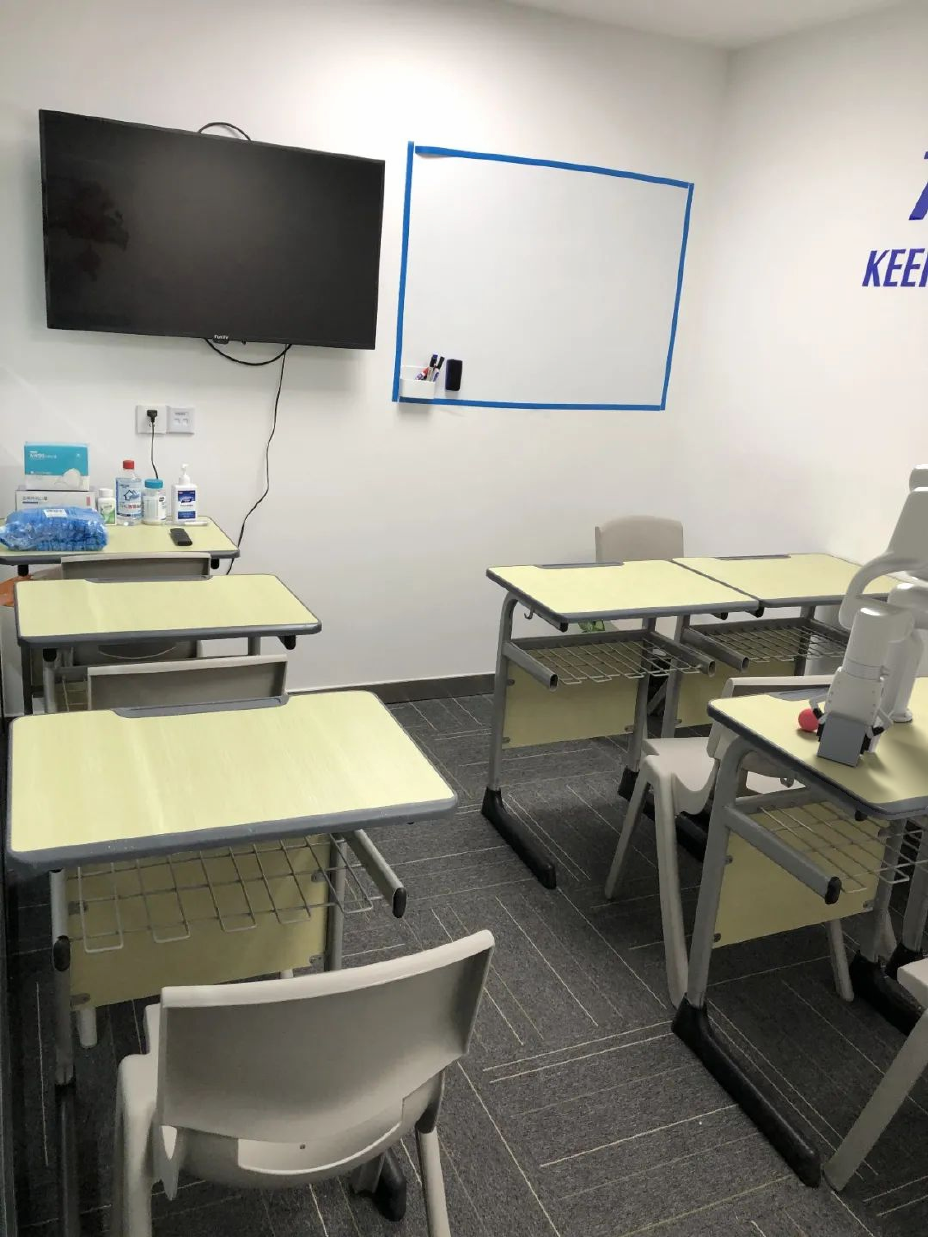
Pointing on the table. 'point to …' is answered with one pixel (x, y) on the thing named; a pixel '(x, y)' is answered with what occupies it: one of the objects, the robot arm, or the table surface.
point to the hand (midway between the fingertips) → (841, 745)
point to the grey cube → (842, 740)
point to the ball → (808, 720)
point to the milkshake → (875, 738)
